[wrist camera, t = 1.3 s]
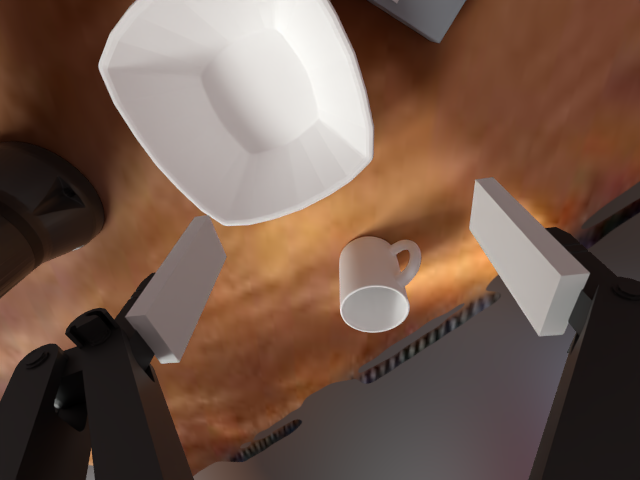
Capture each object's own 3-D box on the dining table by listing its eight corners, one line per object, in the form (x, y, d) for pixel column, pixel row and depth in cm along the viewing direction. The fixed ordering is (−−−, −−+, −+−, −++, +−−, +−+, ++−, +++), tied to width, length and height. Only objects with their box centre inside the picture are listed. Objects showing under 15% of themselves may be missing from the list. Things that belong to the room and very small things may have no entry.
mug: (392, 206, 41) (407, 255, 32) (428, 243, 44) (451, 296, 36) (327, 256, 46) (326, 309, 38) (364, 286, 49) (370, 341, 41)
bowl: (299, -88, 25) (287, -128, 18) (386, 139, 36) (399, 168, 29) (121, 46, 31) (60, 54, 24) (240, 207, 42) (221, 245, 35)
